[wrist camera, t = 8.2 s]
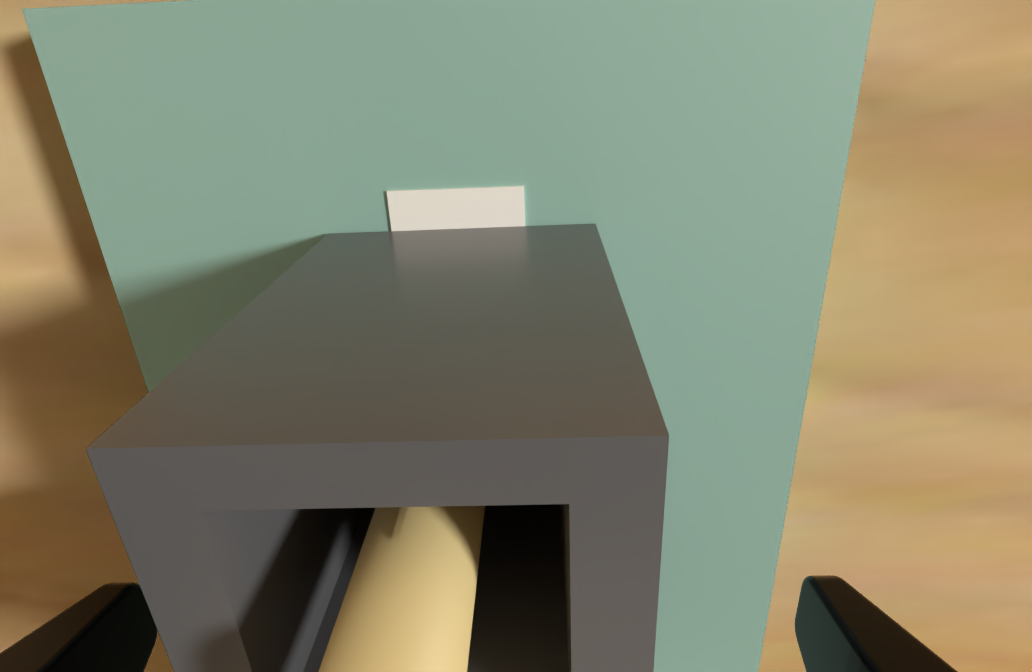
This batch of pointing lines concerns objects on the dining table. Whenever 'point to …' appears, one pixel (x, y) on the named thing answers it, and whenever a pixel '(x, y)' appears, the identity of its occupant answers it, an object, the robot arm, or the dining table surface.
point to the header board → (496, 203)
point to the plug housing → (404, 452)
